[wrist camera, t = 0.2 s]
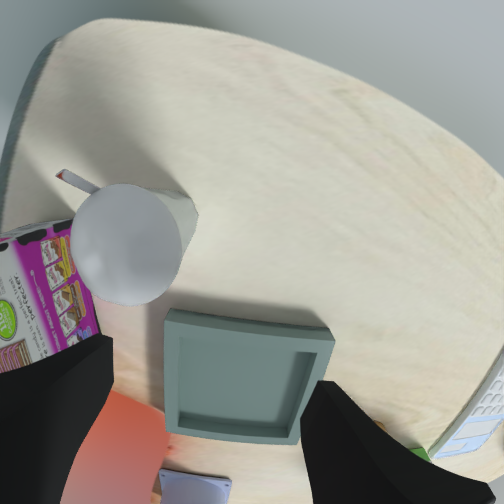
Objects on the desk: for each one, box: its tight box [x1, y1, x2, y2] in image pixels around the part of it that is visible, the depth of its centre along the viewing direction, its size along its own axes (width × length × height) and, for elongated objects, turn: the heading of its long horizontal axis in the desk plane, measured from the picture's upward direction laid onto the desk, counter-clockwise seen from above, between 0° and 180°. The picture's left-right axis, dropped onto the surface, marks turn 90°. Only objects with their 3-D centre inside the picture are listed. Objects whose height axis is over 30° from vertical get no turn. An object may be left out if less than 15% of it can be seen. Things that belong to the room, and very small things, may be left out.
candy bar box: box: [0, 218, 102, 373], centre depth 11 cm, size 11×5×16 cm, turn 3°
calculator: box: [429, 351, 504, 459], centre depth 23 cm, size 13×20×2 cm, turn 161°
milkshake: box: [56, 169, 199, 306], centre depth 13 cm, size 5×5×10 cm
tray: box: [164, 308, 335, 445], centre depth 20 cm, size 11×11×2 cm
